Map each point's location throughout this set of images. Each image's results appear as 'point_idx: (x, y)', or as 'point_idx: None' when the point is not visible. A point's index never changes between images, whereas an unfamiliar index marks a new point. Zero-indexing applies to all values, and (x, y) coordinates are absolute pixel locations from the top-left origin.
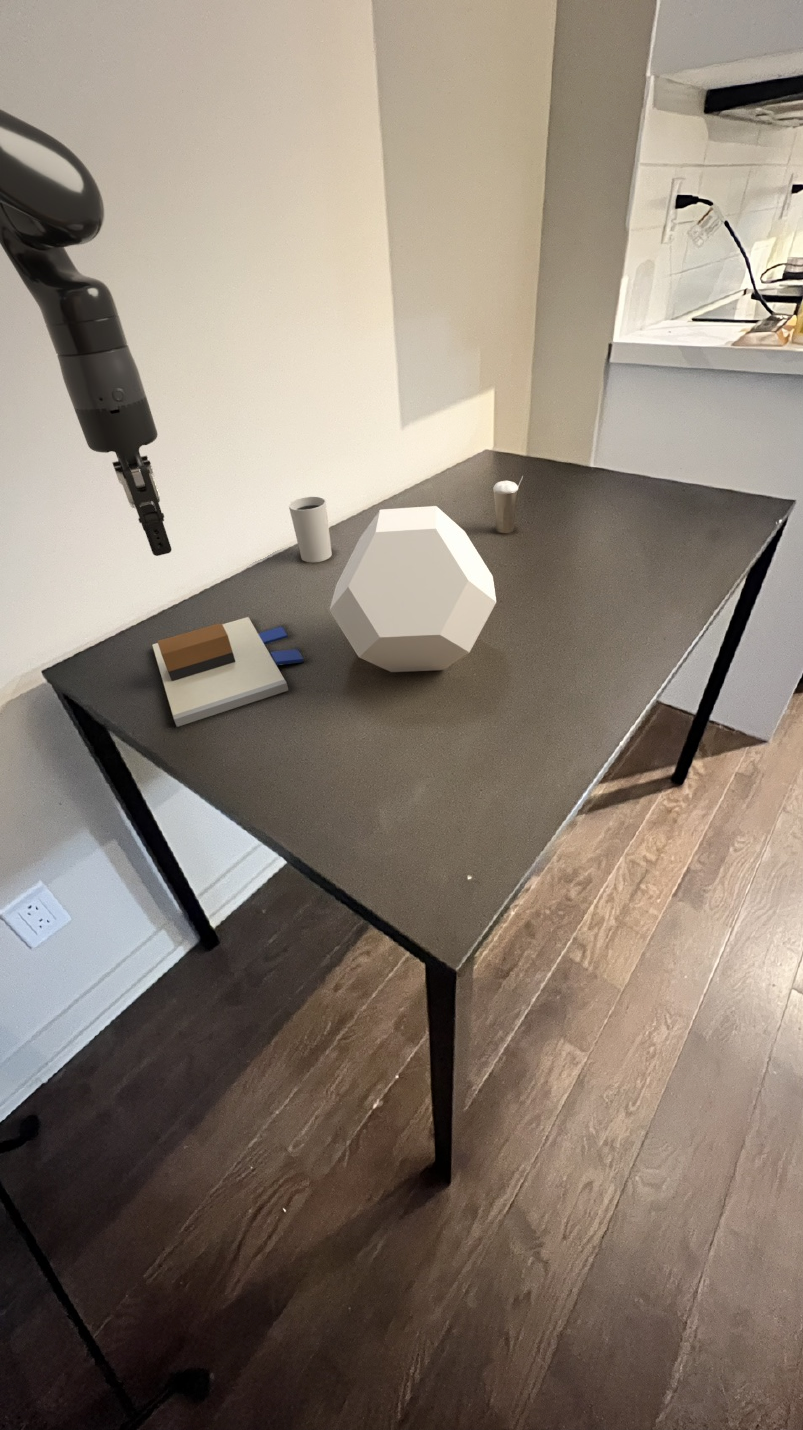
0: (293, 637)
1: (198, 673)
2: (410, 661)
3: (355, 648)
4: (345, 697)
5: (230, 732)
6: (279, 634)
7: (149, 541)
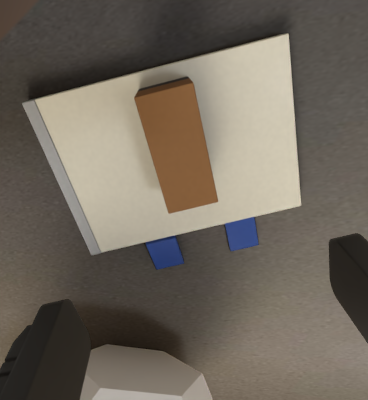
0: (225, 255)
1: None
2: None
3: None
4: None
5: (8, 179)
6: (236, 241)
7: (21, 354)
